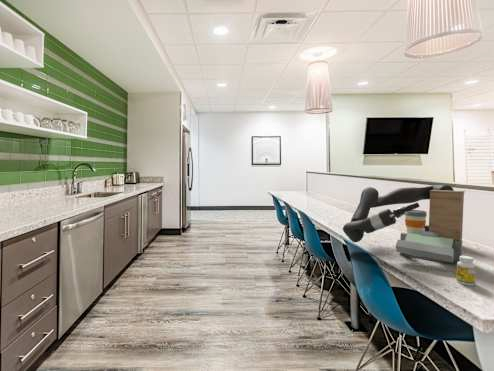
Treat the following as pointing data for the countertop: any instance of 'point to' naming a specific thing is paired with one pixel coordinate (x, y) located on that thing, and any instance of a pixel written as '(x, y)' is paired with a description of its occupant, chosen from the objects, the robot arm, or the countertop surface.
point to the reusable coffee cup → (415, 221)
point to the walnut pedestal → (446, 214)
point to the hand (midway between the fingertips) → (416, 205)
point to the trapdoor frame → (456, 259)
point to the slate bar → (425, 250)
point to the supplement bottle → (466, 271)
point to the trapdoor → (429, 239)
